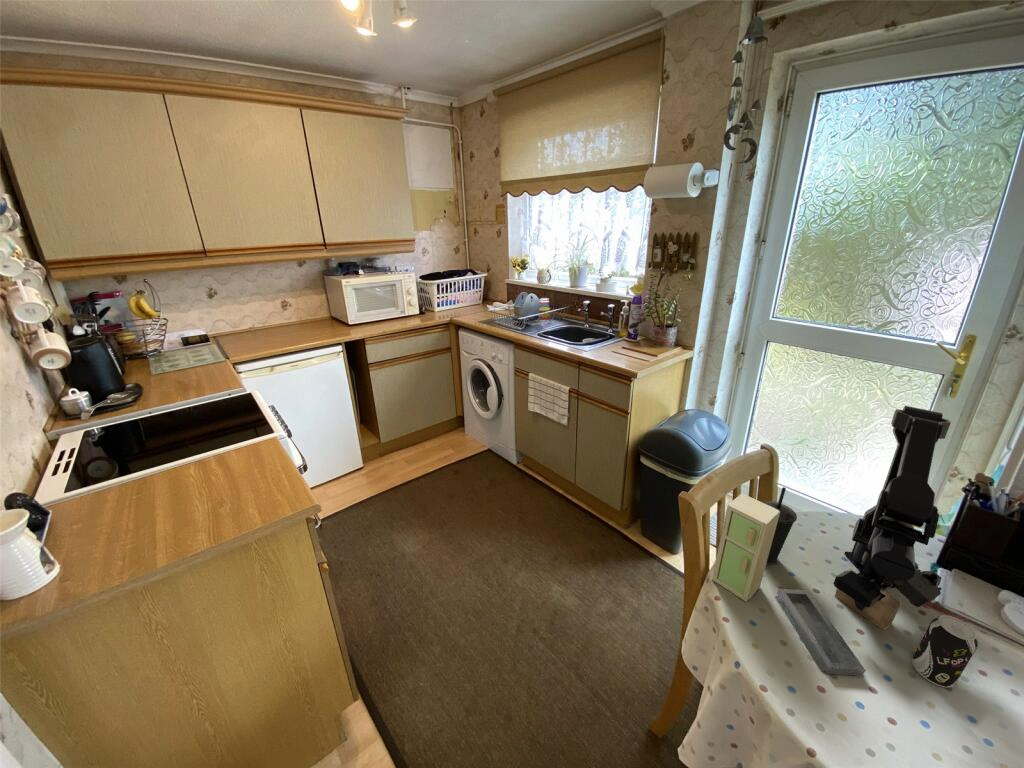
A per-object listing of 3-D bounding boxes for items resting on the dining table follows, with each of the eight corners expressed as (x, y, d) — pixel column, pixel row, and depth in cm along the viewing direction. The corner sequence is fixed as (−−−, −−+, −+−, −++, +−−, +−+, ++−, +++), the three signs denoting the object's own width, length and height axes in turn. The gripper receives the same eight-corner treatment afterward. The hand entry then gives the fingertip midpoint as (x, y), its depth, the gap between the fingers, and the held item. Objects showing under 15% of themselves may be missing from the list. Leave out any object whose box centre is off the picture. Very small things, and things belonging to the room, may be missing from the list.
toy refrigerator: (708, 580, 93) (725, 505, 86) (724, 565, 98) (742, 492, 90) (744, 604, 87) (766, 526, 80) (760, 587, 92) (782, 511, 84)
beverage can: (917, 682, 73) (943, 634, 68) (904, 653, 78) (927, 607, 73) (960, 696, 70) (990, 647, 66) (944, 665, 75) (970, 618, 71)
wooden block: (834, 596, 89) (842, 575, 87) (842, 591, 91) (850, 570, 88) (883, 630, 82) (893, 608, 80) (891, 624, 83) (901, 602, 81)
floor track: (773, 595, 90) (775, 588, 89) (808, 597, 89) (810, 590, 88) (823, 674, 74) (826, 667, 73) (865, 677, 73) (868, 670, 73)
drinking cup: (745, 560, 99) (764, 491, 92) (748, 540, 105) (765, 474, 98) (782, 573, 95) (805, 502, 88) (782, 552, 101) (803, 484, 94)
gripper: (916, 596, 70) (886, 659, 75) (966, 559, 77) (935, 618, 83) (843, 552, 79) (821, 611, 85) (894, 523, 86) (870, 578, 92)
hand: (863, 605), depth 86 cm, fingers closed on wooden block, 3 cm apart
